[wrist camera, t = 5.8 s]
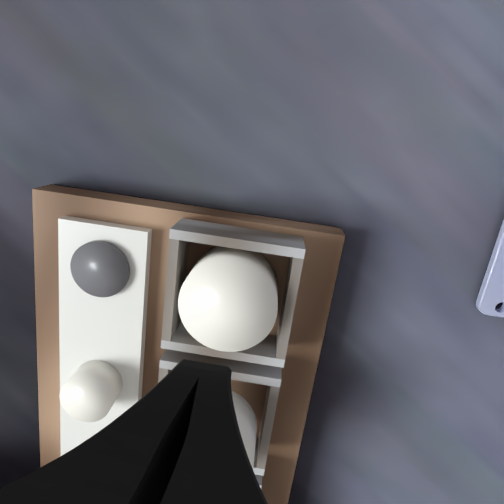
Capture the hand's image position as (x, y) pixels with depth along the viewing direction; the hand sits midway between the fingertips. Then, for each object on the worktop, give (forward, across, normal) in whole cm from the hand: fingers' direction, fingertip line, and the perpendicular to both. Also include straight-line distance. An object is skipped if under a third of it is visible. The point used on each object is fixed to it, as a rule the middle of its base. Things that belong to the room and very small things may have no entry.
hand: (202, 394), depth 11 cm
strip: (+8, +6, +6) cm, 12 cm away
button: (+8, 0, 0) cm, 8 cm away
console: (+10, +3, +6) cm, 12 cm away
